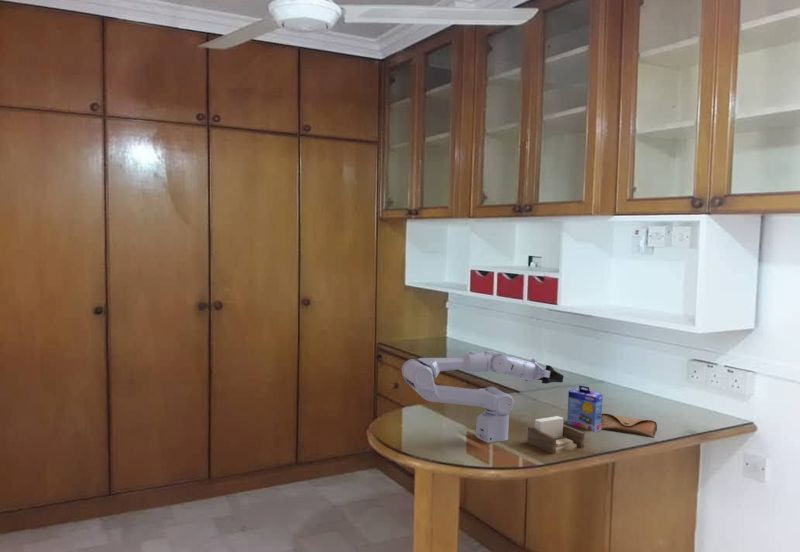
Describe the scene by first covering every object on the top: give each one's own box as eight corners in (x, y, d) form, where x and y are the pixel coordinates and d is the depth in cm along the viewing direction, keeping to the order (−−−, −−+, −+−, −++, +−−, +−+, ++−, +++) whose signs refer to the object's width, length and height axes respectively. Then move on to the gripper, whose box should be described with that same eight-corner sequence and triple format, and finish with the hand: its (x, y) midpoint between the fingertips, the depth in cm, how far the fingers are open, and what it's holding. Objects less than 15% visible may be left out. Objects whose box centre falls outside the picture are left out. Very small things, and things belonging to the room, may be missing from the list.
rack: (552, 457, 182) (553, 438, 181) (527, 445, 191) (528, 427, 191) (583, 450, 187) (584, 432, 187) (557, 439, 197) (558, 422, 196)
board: (539, 445, 188) (540, 422, 188) (534, 442, 191) (535, 419, 190) (562, 440, 193) (563, 418, 192) (556, 438, 195) (557, 415, 194)
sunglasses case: (597, 429, 208) (599, 409, 210) (598, 434, 214) (600, 415, 216) (656, 438, 201) (657, 417, 203) (656, 443, 207) (657, 423, 209)
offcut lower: (555, 451, 183) (556, 448, 183) (547, 447, 186) (547, 444, 186) (576, 447, 187) (576, 444, 187) (567, 443, 190) (567, 440, 190)
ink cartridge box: (565, 427, 210) (567, 383, 208) (573, 423, 214) (575, 380, 213) (594, 434, 203) (596, 389, 202) (601, 430, 207) (603, 386, 206)
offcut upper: (557, 447, 184) (557, 444, 184) (550, 444, 187) (550, 440, 186) (573, 444, 187) (573, 441, 187) (565, 441, 190) (566, 437, 189)
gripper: (535, 356, 189) (571, 367, 194) (508, 354, 203) (543, 364, 208) (530, 380, 188) (567, 389, 193) (504, 376, 202) (539, 385, 206)
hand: (554, 378), depth 200 cm, fingers open, 7 cm apart
